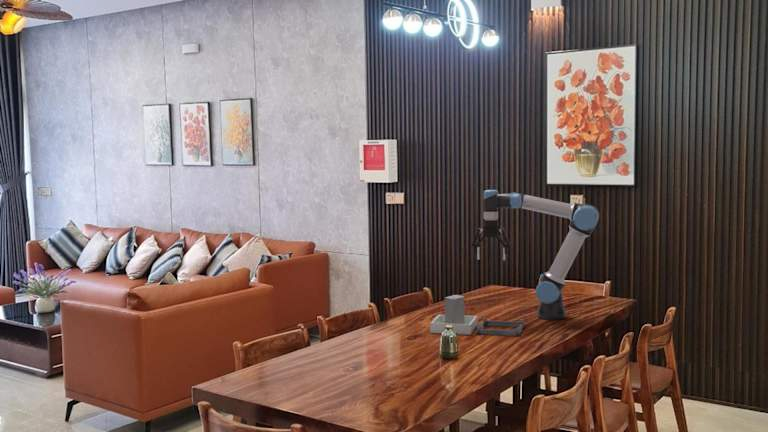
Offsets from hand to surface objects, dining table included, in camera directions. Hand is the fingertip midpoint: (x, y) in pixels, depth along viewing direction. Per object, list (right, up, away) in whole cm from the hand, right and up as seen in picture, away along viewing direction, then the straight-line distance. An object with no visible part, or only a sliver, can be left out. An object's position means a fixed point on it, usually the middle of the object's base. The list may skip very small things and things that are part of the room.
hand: (491, 259), depth 396 cm
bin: (-21, -34, -18) cm, 44 cm away
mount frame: (+2, -34, -23) cm, 41 cm away
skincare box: (-21, -33, -19) cm, 43 cm away
